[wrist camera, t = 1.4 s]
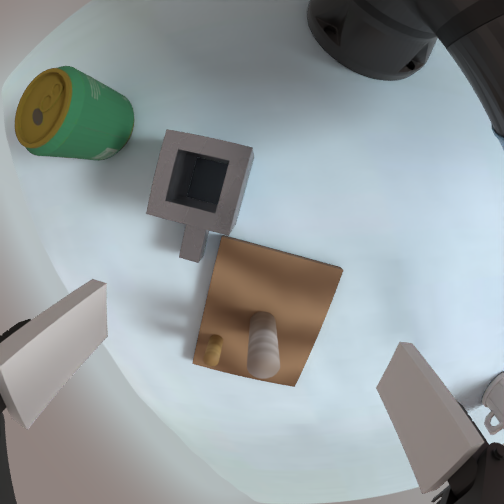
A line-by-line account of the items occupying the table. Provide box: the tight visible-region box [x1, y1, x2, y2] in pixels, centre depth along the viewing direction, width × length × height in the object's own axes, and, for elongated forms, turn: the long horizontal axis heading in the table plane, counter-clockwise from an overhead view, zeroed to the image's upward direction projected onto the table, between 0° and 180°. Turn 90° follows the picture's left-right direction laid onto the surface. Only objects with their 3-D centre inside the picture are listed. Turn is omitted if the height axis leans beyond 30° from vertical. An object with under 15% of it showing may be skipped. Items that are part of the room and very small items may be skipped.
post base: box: [192, 235, 343, 387], centre depth 26 cm, size 16×13×9 cm
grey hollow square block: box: [146, 130, 254, 263], centre depth 25 cm, size 11×7×7 cm, turn 165°
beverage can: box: [15, 66, 134, 160], centre depth 20 cm, size 8×8×12 cm
